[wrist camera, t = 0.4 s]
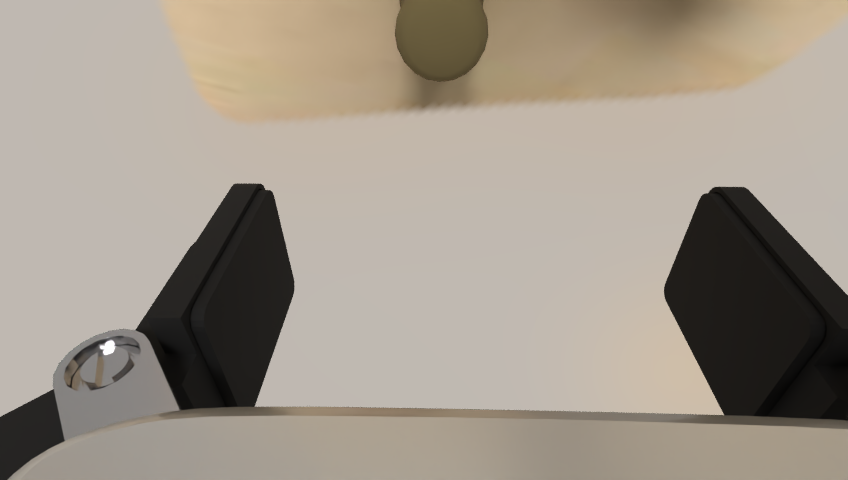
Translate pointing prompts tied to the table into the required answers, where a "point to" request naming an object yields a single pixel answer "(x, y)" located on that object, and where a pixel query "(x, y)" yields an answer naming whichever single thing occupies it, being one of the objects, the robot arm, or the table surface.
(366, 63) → the table surface
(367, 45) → the table surface
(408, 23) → the cork
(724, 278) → the robot arm
